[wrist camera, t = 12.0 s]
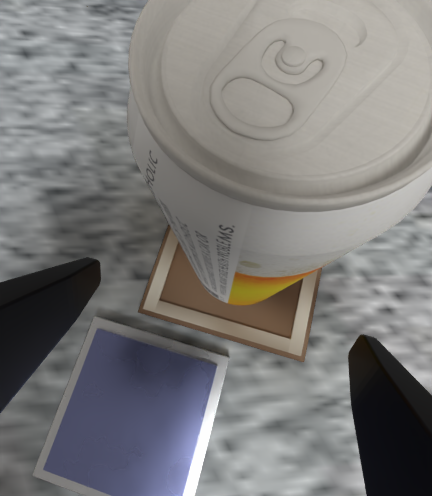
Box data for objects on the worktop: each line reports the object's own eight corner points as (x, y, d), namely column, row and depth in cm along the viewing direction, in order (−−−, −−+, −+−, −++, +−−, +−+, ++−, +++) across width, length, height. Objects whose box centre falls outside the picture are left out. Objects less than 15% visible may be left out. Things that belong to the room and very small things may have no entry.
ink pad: (186, 524, 15) (183, 537, 14) (40, 469, 16) (28, 478, 15) (229, 356, 17) (229, 358, 16) (99, 316, 18) (91, 316, 17)
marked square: (302, 361, 17) (305, 362, 17) (139, 312, 18) (136, 312, 18) (332, 205, 20) (335, 202, 19) (188, 170, 21) (187, 167, 20)
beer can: (301, 252, 19) (570, 8, 4) (250, 325, 17) (383, 337, 3) (230, 203, 20) (250, -122, 5) (177, 269, 19) (18, 83, 4)
